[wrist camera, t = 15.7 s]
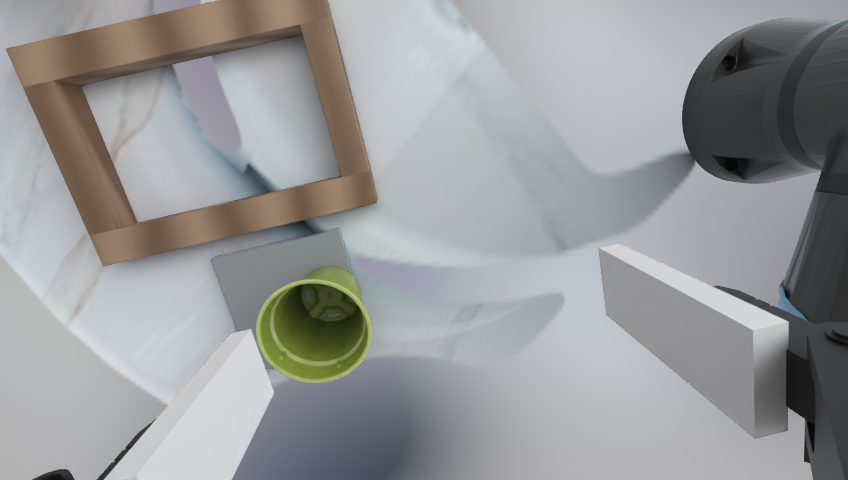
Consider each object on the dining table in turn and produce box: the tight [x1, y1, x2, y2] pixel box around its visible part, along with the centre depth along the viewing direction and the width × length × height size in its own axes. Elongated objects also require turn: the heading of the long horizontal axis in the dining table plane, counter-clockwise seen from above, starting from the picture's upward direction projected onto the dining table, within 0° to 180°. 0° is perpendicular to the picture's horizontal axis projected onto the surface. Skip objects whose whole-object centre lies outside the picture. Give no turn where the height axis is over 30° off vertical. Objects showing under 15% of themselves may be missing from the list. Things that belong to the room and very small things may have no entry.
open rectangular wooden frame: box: [6, 0, 378, 266], centre depth 36 cm, size 26×19×3 cm
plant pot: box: [256, 266, 372, 383], centre depth 37 cm, size 9×9×9 cm
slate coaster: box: [210, 228, 372, 369], centre depth 42 cm, size 13×13×1 cm
